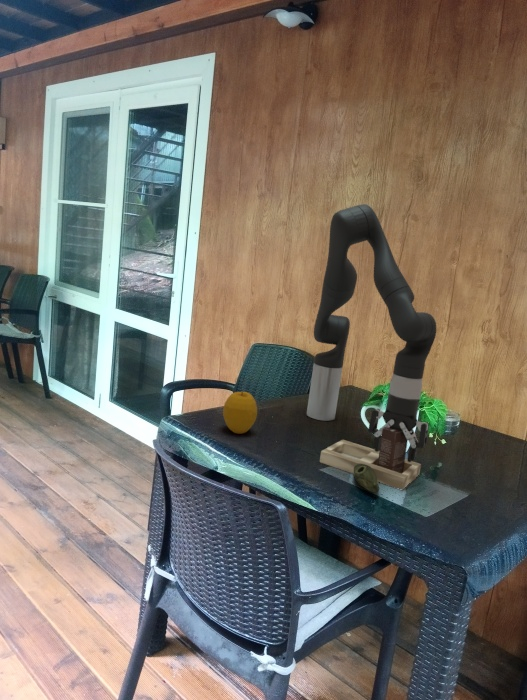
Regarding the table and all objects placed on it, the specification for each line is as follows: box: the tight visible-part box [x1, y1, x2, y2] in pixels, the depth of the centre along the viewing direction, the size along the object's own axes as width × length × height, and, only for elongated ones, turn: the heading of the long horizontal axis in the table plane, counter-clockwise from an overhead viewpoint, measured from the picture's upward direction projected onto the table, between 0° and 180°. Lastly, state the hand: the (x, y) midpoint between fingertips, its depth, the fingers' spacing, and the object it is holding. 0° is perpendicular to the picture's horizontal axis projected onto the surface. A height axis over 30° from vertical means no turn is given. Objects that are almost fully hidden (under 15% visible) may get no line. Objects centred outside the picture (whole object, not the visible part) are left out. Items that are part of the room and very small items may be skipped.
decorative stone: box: [353, 463, 380, 493], centre depth 134 cm, size 11×8×5 cm
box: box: [378, 428, 409, 474], centre depth 142 cm, size 6×4×12 cm
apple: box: [222, 391, 258, 435], centre depth 160 cm, size 10×10×12 cm
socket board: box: [319, 439, 422, 490], centre depth 145 cm, size 13×22×3 cm, turn 58°
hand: (393, 455), depth 142 cm, fingers open, 8 cm apart
